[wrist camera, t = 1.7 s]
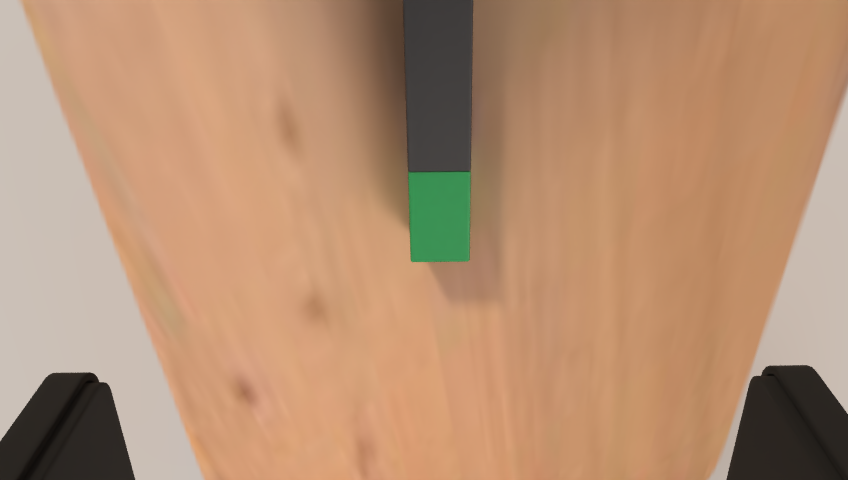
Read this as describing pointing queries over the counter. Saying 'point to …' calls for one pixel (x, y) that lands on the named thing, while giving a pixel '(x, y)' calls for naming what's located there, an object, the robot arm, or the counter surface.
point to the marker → (439, 126)
